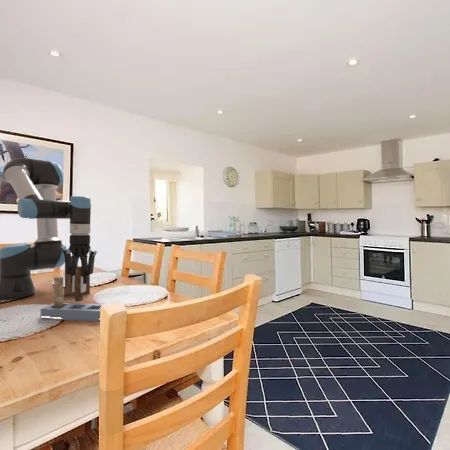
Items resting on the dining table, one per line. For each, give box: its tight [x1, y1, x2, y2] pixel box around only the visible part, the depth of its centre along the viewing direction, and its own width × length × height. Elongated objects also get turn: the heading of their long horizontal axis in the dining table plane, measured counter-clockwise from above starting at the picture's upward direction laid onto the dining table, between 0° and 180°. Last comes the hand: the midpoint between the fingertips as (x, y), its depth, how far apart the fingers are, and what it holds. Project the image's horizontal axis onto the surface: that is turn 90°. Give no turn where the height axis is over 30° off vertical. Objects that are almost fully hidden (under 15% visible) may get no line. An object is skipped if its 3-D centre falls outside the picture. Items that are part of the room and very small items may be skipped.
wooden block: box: [63, 255, 91, 296], centre depth 138 cm, size 4×11×18 cm, turn 115°
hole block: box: [40, 302, 103, 322], centre depth 107 cm, size 22×8×4 cm, turn 86°
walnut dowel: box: [74, 265, 84, 303], centre depth 119 cm, size 3×3×14 cm
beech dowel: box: [53, 276, 64, 308], centre depth 107 cm, size 3×3×14 cm
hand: (79, 291), depth 119 cm, fingers closed on walnut dowel, 3 cm apart
